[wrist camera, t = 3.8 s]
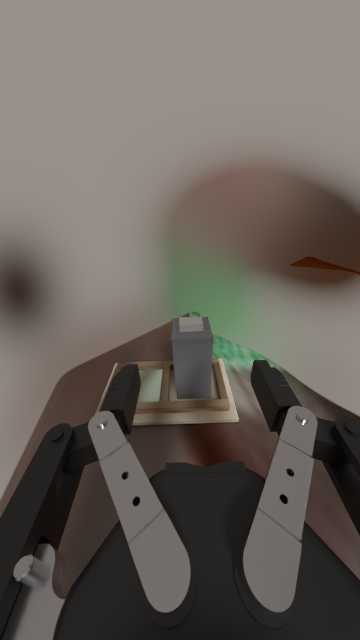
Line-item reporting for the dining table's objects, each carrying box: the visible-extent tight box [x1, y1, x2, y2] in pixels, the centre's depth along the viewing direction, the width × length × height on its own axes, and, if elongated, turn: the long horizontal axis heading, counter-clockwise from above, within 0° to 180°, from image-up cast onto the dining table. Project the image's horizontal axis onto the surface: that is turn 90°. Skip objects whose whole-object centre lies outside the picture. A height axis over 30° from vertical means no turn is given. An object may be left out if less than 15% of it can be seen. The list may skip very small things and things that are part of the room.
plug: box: [171, 316, 213, 399], centre depth 29 cm, size 5×5×12 cm
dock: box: [95, 358, 239, 425], centre depth 32 cm, size 20×12×2 cm, turn 90°
